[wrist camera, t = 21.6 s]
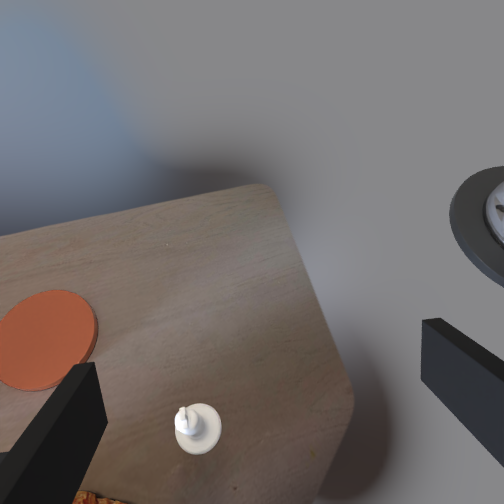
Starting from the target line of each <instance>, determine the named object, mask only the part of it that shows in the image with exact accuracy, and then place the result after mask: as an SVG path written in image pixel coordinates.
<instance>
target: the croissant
mask: <svg viewBox="0 0 504 504" xmlns="http://www.w3.org/2000/svg"><path fill="white" fill-rule="evenodd" d="M72 504H128V503H122V502H119V501H117V500H116V501H113V500H110V499H108V498H103V499H99V498H96V496H95V494H93V493H90V492H86V491H78V492H77V494H76V496H75V499H74V501H73V503H72Z"/></svg>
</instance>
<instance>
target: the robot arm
mask: <svg viewBox="0 0 504 504" xmlns="http://www.w3.org/2000/svg"><path fill="white" fill-rule="evenodd" d="M483 219H484V223H485V225H486V228H487V230H488V232H489V233H490V235H491V236H492V238H493V239H494V240H495V241H496V242H497V244H498V245H499V246H500V247H501V248H502V249H504V181H503V182H502V183H501V184H499V185H498V186H497V187H496V188H495V189H494V190H493V191H492V192H491V193H490V194H489V196H488V197H487V198H486V200H485V202H484V205H483ZM421 380H422V381H423V382H424V383H425V385H427V387H428V388H429V389H430V390H431V391H432V392H433V393H434V394H435V395H436V396H437V397H438V398H439V399H440V400H441V401H442V403H443V404H444V405H445V406H446V407H447V408H448V409H449V410H450V411H451V412H452V413H453V414H454V415H455V416H456V417H457V418H458V419H459V421H460V422H461V423H462V424H463V425H464V426H465V427H466V428H467V429H468V430H469V431H470V432H471V433H472V434H473V435H474V436H475V438H476V439H477V440H478V441H479V442H480V443H481V444H482V445H483V446H484V447H485V448H486V449H487V450H488V451H489V452H490V453H491V455H492V456H493V457H494V458H495V459H496V460H497V461H498V462H499V463H500V464H501V465H502V466H503V467H504V361H503V360H501V359H499V358H498V357H497V356H495V355H494V354H492V353H491V352H489V351H488V350H487V349H485V348H484V347H482V346H481V345H479V344H478V343H476V342H475V341H473V340H472V339H470V338H469V337H468V336H466V335H464V334H463V333H462V332H460V331H459V330H457V329H456V328H454V327H453V326H452V325H450V324H449V323H447V322H446V321H444V320H443V319H441V318H434V319H426V320H422V348H421ZM107 424H108V421H107V416H106V412H105V407H104V403H103V398H102V394H101V389H100V385H99V381H98V376H97V372H96V367H95V363H94V362H89V363H81V364H74V365H73V366H72V368H71V369H70V370H69V372H68V373H67V374H66V376H65V377H64V378H63V380H62V381H61V383H60V384H59V385H58V387H57V388H56V389H55V391H54V392H53V393H52V395H51V396H50V397H49V399H48V400H47V401H46V403H45V404H44V405H43V407H42V408H41V409H40V411H39V412H38V413H37V415H36V416H35V417H34V419H33V420H32V421H31V423H30V424H29V426H28V427H27V428H26V430H25V431H24V432H23V434H22V435H21V436H20V438H19V439H18V440H17V442H16V443H15V444H14V446H13V447H12V448H11V450H10V451H9V452H3V453H0V504H72V503H73V501H74V499H75V496H76V494H77V492H78V489H79V487H80V485H81V483H82V480H83V478H84V476H85V474H86V471H87V469H88V467H89V465H90V462H91V460H92V458H93V455H94V453H95V451H96V449H97V446H98V444H99V442H100V440H101V437H102V435H103V433H104V431H105V428H106V426H107Z"/></svg>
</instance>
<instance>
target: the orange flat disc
mask: <svg viewBox="0 0 504 504" xmlns="http://www.w3.org/2000/svg"><path fill="white" fill-rule="evenodd" d="M97 335H98V322H97V318H96V315H95V312H94V311H93V309H92V307H91V306H90V305H89V304H88V303H87V302H86V301H85V300H84V299H83V298H82V297H80V296H78V295H77V294H75V293H72V292H69V291H63V290H51V291H45V292H41V293H38V294H35V295H33V296H31V297H29V298H27V299H25V300H23V301H22V302H20V303H19V304H17V305H16V306H15V307H14V308H13V309H11V310H10V311H9V312H8V313H7V314H6V315H5V317H4V318H3V319H2V320H1V322H0V381H2V382H3V383H5V384H6V385H9V386H11V387H14V388H17V389H20V390H25V391H38V390H44V389H48V388H51V387H53V386H56V385H58V384H60V383H61V381H62V380H63V378H64V377H65V376H66V374H67V373H68V372H69V370H70V369H71V368H72V366H73V365H74V364H81V363H85V362H86V361H87V359H88V358H89V356H90V354H91V353H92V351H93V348H94V346H95V343H96V340H97Z"/></svg>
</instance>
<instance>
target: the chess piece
mask: <svg viewBox="0 0 504 504" xmlns="http://www.w3.org/2000/svg"><path fill="white" fill-rule="evenodd" d="M179 409H180V411H179V412H178V413H177V415H176V417H175V425H176V426H175V435H176V439H177V442H178V444H179V445H180V447H181V448H182V449H183V450H184V451H186V452H188V453H190V454H194V455H199V454H204V453H206V452H208V451H210V450H211V449H212V448H213V447H214V446H215V445H216V443H217V442H218V440H219V438H220V435H221V429H222V425H221V419H220V417H219V415H218V413H217V411H216V410H215V409H214V408H213V407H211V406H209V405H207V404H203V403H197V404H193V405H190V406H188V407H187V408H185V407H182V408H179Z"/></svg>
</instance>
